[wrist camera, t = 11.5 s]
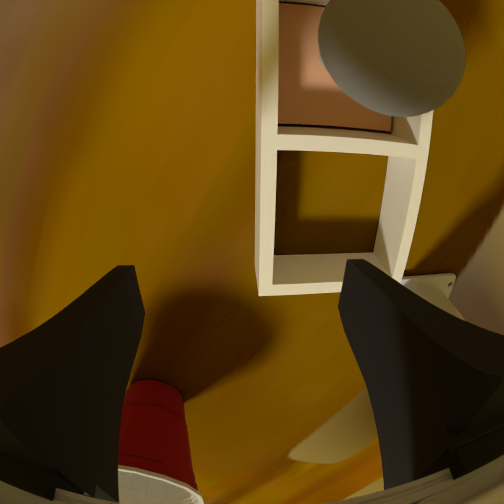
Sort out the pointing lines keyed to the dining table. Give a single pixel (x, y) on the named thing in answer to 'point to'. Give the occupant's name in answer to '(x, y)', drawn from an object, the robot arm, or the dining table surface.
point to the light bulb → (392, 53)
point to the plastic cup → (155, 447)
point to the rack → (324, 149)
